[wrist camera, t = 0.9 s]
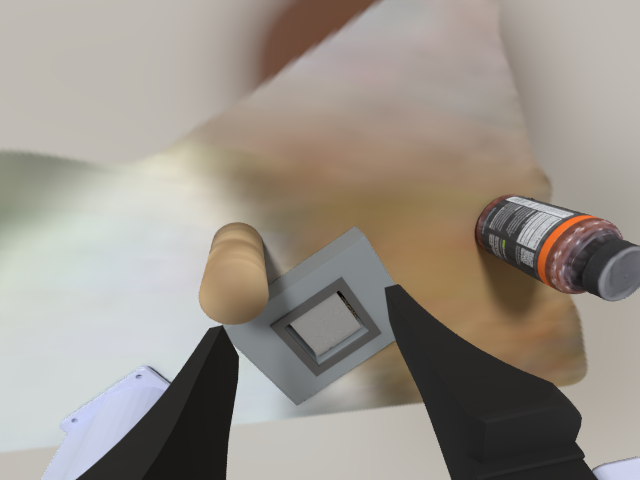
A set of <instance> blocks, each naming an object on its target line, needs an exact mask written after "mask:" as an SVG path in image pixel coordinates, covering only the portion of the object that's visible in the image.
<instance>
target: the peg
mask: <svg viewBox="0 0 640 480" xmlns="http://www.w3.org/2000/svg"><path fill="white" fill-rule="evenodd" d="M268 297H269V291H268V283H267V275H266V267H265V259H264V251H263V243H262V239H261V236H260V234H259V233H258V232H257V231H256V229H254V228H253V227H251V226H250V225H248V224H245V223H230V224H227V225H225V226H223V227H222V228H220V229H219V230H218V231H217V233H216V234H215V236H214V238H213V242H212V245H211V249H210V253H209V256H208V260H207V264H206V267H205V271H204V275H203V279H202V282H201V286H200V290H199V302H200V306H201V308H202V310H203V311H204V312H205V314H206V315H207V316H209V317H210V318H211V319H213V320H214V321H217V322H219V323H222V324H227V325H238V324H243V323H246V322H249V321H251V320H253V319H255V318H256V317H257V316H259V315H260V314H261V313H262V311H263V310H264V308H265V307H266V305H267V302H268Z"/></svg>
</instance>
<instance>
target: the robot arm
mask: <svg viewBox="0 0 640 480" xmlns="http://www.w3.org/2000/svg"><path fill="white" fill-rule="evenodd" d="M384 289H385V296H386V303H387V309H388V316H389V322H390V325H391V328H392V331H393V334H394V337H395V340H396V343H397V345H398V347H399V349H400V351H401V353H402V355H403V358H404V360H405V362H406V364H407V366H408V368H409V370H410V372H411V374H412V376H413V379H414V381H415V383H416V385H417V387H418V389H419V391H420V394H421V396H422V398H423V401H424V404H425V406H426V409H427V412H428V415H429V417H430V420H431V423H432V425H433V428H434V431H435V434H436V437H437V439H438V442H439V445H440V448H441V451H442V454H443V457H444V460H445V462H446V465H447V468H448V471H449V474H450V477H451V480H640V457H633V458H628V459H623V460H618V461H614V462H609V463H605V464H602V465H599V466H597V467H595V468H593V470H592V471H591V469H590V468H589V467H588V465H587V464H586V463H585V461H584V460H583V458H584V457H585V455H584V453H583V451H582V450H581V449H580V447H579V446H578V445H577V443H576V442H575V441H576V438H577V435H578V432H579V429H580V427H581V420H582V417H581V414H580V413H579V411H578V410H577V409H576V407H575V406H574V405H573V404H572V403H571V401H570V400H569V399H568V398H567V397H566V396H565V395H564V394H563V393H562V392H561V391H560V390H559V389H558V388H557V387H556V386H555V385H554V384H553V383H551V382H549V381H546V380H544V379H541V378H539V377H537V376H534V375H532V374H529V373H527V372H524V371H522V370H520V369H517V368H515V367H513V366H511V365H509V364H507V363H505V362H503V361H501V360H499V359H497V358H495V357H493V356H492V355H490V354H488V353H486V352H484V351H482V350H481V349H479V348H477V347H476V346H474V345H472V344H471V343H469V342H467V341H466V340H464V339H463V338H461V337H460V336H458V335H457V334H455V333H454V332H453V331H451V330H450V329H448V328H447V327H446V326H445V325H443V324H442V323H441V322H439V321H438V320H437V319H436V318H434V317H433V316H432V315H431V314H430V313H428V312H427V311H426V310H425V309H424V308H423V307H422V306H420V305H419V304H418V303H417V302H416V301H415V300H414V299H413V298H412V297H411V296H410V295H409V294H408V293H407V292H406V291H405V290H404V289H403V288H402V287H401V286H400V285H399V284H397V285H393V286H388V287H384ZM238 370H239V356H238V354H237V352H236V350H235V348H234V346H233V344H232V342H231V340H230V338H229V336H228V334H227V332H226V330H225V328H224V326H223V325H221V326H217V327H213V328H209V330H208V331H207V332H206V334H205V335H204V337H203V338H202V340H201V341H200V343H199V344H198V346H197V347H196V349H195V350H194V352H193V353H192V355H191V356H190V358H189V359H188V361H187V362H186V364H185V365H184V366H183V368H182V369H181V371H180V372H179V373H178V375H177V376H176V377H175V379H174V380H173V381H172V383H171V384H170V383H168V382H167V381H166V380H165V379H163V378H162V377H161V376H159V375H158V374H157V373H156V372H154V371H153V370H152V369H150V368H149V367H147V366H143V367H141V368H139V369H138V370H136V371H135V372H133V373H132V374H130V375H129V376H127V377H126V378H124V379H123V380H121V381H120V382H118V383H117V384H116V385H114V386H113V387H111V388H110V389H108V390H107V391H105V392H104V393H102V394H101V395H99V396H98V397H96V398H95V399H94V400H92V401H91V402H89V403H88V404H86V405H85V406H83V407H82V408H80V409H79V410H77V411H76V412H74V413H73V414H72V415H70V416H69V417H67V418H66V419H64V420H63V421H62V422H61V423H60V425H59V427H60V429H61V430H63V431H65V432H67V434H66V436H65V438H64V439H63V441H62V443H61V445H60V446H59V448H58V450H57V452H56V454H55V455H54V457H53V459H52V461H51V462H50V464H49V466H48V468H47V470H46V471H45V473H44V475H43V477H42V478H41V480H226V468H227V453H228V440H229V432H230V426H231V420H232V414H233V408H234V402H235V396H236V390H237V383H238ZM138 374H140V375H142V376H139V375H138ZM75 418H76V419H75Z"/></svg>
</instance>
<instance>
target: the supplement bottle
mask: <svg viewBox="0 0 640 480" xmlns="http://www.w3.org/2000/svg"><path fill="white" fill-rule="evenodd" d="M476 235H477V239H478V242H479V244H480V245H481V247H482V248H484V249H485V250H486V251H488V252H489V253H491V254H493V255H494V256H496V257H498V258H500V259H501V260H503V261H505V262H507V263H509V264H511V265H512V266H514V267H516V268H518V269H519V270H521V271H523V272H525V273H527V274H528V275H530V276H532V277H534V278H536V279H537V280H539V281H541V282H543V283H545V284H547V285H548V286H550V287H552V288H554V289H556V290H558V291H560V292H563V293H567V294H580V293H584V292H589V293H591V294H594V295H596V296H598V297H600V298H602V299H604V300H607V301H618V300H621V299H624V298H626V297H628V296H630V295H631V294H632V293H634V292H635V291H636V290H637V289H638V288H639V287H640V246H638V245H636V244H632V243H630V242H629V241H625V240H623V237H622V235H621V233H620V231H619V230H618V228H617V227H616V226H615V225H614V224H612V223H611V222H609V221H607V220H604V219H600V218H597V217H594V216H591V215H588V214H583V213H580V212H576V211H572V210H569V209H566V208H563V207H559V206H555V205H552V204H548V203H545V202H541V201H538V200H535V199H533V198H532V199H531V198H527V197H524V196H519V195H505V196H502V197H499V198H497V199H495V200H494V201H492V202H491V203H490V204H489V205H488V206H487V207H486V208H485V209H484V211H483V212H482V213H481V215H480V217H479V220H478V223H477V228H476Z"/></svg>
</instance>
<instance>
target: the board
mask: <svg viewBox="0 0 640 480" xmlns="http://www.w3.org/2000/svg"><path fill="white" fill-rule="evenodd" d="M393 285H395V283H394V281H393V280H392V278H391V277H390V275H389V273H388V272H387V270H386V269H385V267H384V265H383V264H382V262H381V261H380V259H379V257H378V256H377V254H376V252H375V251H374V249H373V248H372V246H371V244H370V243H369V241H368V240H367V238H366V236H365V235H364V234H363V233H362V232H361V231H360V230H359V229H358V228H357V227H356V226H355V227H353V228H352V229H350V230H349V231H347V232H346V233H344V234H343V235H341V236H340V237H338V238H337V239H335V240H334V241H333V242H331V243H330V244H328V245H327V246H325V247H324V248H322V249H321V250H319V251H318V252H316V253H315V254H313V255H312V256H310V257H309V258H308V259H306V260H305V261H303V262H302V263H300V264H299V265H297V266H296V267H294V268H293V269H291V270H290V271H288V272H287V273H286V274H284V275H283V276H281V277H280V278H278V279H277V280H275V281H274V282H272V283H271V284H269V285H268V291H269V297H268V302H267V305H266V307H265V308H264V310H263V311H262V313H261V314H260V315H259V316H257V317H256V318H255V319H253V320H251V321H249V322H246V323H243V324H238V325H227V324H223V326H224V328H225V330H226V332H227V334H228V336H229V338H230V340H231V342H232V344H233V345H234V346H235V347H236V348H237V349H239V350H240V351H241V352H242V353H243V354H244V355H245V356H246V357H247V358H248V359H249V360H250V361H251V362H252V363H253V364H254V365H255V366H256V367H257V368H258V369H259V370H260V371H261V372H262V373H263V374H265V375H266V376H267V377H268V378H269V379H270V380H271V381H272V382H273V383H274V384H275V385H276V386H277V387H278V388H279V389H280V390H281V391H282V392H283V393H284V394H285V395H286V396H287V397H288V398H289V399H291V400H292V401H293V402H294V403H295V404H296V405H299V404H300V403H302V402H303V401H305V400H306V399H308V398H309V397H311V396H312V395H314V394H315V393H317V392H318V391H320V390H321V389H323V388H324V387H326V386H327V385H329V384H330V383H332V382H333V381H335V380H336V379H338V378H339V377H341V376H342V375H344V374H345V373H347V372H348V371H350V370H351V369H353V368H354V367H356V366H357V365H359V364H360V363H362V362H363V361H365V360H366V359H368V358H369V357H371V356H372V355H374V354H375V353H377V352H378V351H380V350H381V349H383V348H384V347H386V346H387V345H389V344H390V343H392V342H393V341H395V337H394V334H393V331H392V328H391V325H390V322H389V316H388V309H387V303H386V296H385V289H384V287H388V286H393ZM339 290H340V292H341V293H342V294H343V296H344V297H345V299H346V300H347V301H348V303H349V304H350V305H351V307H352V308H353V309H354V311H355V312H356V314H357V315H358V317H357V318H356V319H357V320H358V322H359V323H360V325H361V326H362V328H361V329H359V330H358V331H356V332H355V333H353V334H352V335H350V336H349V337H347V338H346V339H344V340H343V341H341V342H340V343H338V344H337V345H335V346H334V347H332V348H331V349H329V350H328V351H326V352H325V353H323V354H322V355H320V356H318V355H317V354H316V353H315V352H314V351H313V349H312V348H311V347H310V346H309V345H308V344H307V343H306V342H305V340H304V339H303V338H302V337H301V336H300V335H299V334H298V332H297V331H296V330H295V329H294V328H293V327H292V326H291V325H290V323H292V322H293V321H295V320H296V319H298V318H299V317H301V316H302V315H303V314H305V313H306V312H308V311H309V310H311V309H312V308H314V307H315V306H317V305H318V304H320V303H321V302H323V301H324V300H326V299H327V298H329V297H330V296H332V295H333V294H335V293H336V292H338V291H339Z"/></svg>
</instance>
